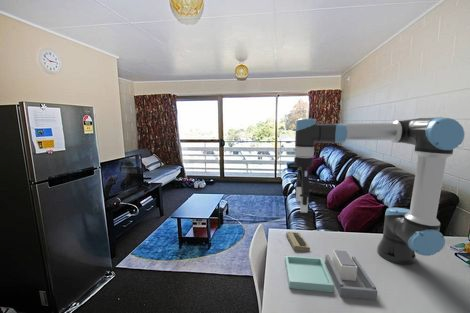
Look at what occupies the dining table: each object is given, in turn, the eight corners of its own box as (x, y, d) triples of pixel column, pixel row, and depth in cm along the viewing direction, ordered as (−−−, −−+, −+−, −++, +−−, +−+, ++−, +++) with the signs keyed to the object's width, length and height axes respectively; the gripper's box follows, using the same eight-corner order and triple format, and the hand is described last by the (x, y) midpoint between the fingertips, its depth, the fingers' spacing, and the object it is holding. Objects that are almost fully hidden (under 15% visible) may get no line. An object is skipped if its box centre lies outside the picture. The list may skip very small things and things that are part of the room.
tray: (321, 264, 107) (321, 258, 106) (333, 292, 89) (333, 285, 89) (284, 261, 108) (285, 255, 108) (289, 288, 91) (289, 281, 90)
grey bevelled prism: (345, 263, 108) (347, 250, 107) (355, 281, 96) (357, 266, 95) (331, 262, 108) (332, 249, 107) (340, 279, 96) (341, 265, 96)
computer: (310, 251, 118) (310, 245, 117) (293, 251, 117) (294, 245, 117) (300, 236, 133) (300, 230, 133) (285, 236, 133) (286, 230, 133)
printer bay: (354, 265, 106) (354, 256, 106) (376, 300, 85) (377, 289, 85) (325, 263, 108) (325, 254, 107) (340, 296, 87) (341, 286, 86)
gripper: (291, 152, 112) (289, 196, 115) (298, 161, 87) (295, 217, 90) (307, 153, 111) (305, 197, 114) (320, 161, 86) (316, 218, 89)
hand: (301, 206), depth 102 cm, fingers open, 13 cm apart
